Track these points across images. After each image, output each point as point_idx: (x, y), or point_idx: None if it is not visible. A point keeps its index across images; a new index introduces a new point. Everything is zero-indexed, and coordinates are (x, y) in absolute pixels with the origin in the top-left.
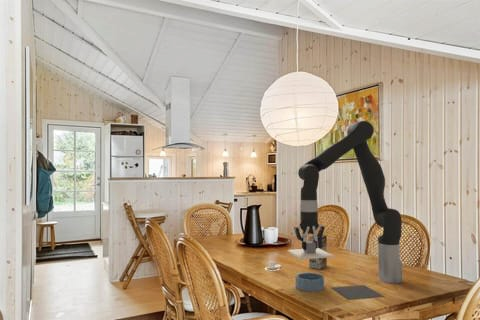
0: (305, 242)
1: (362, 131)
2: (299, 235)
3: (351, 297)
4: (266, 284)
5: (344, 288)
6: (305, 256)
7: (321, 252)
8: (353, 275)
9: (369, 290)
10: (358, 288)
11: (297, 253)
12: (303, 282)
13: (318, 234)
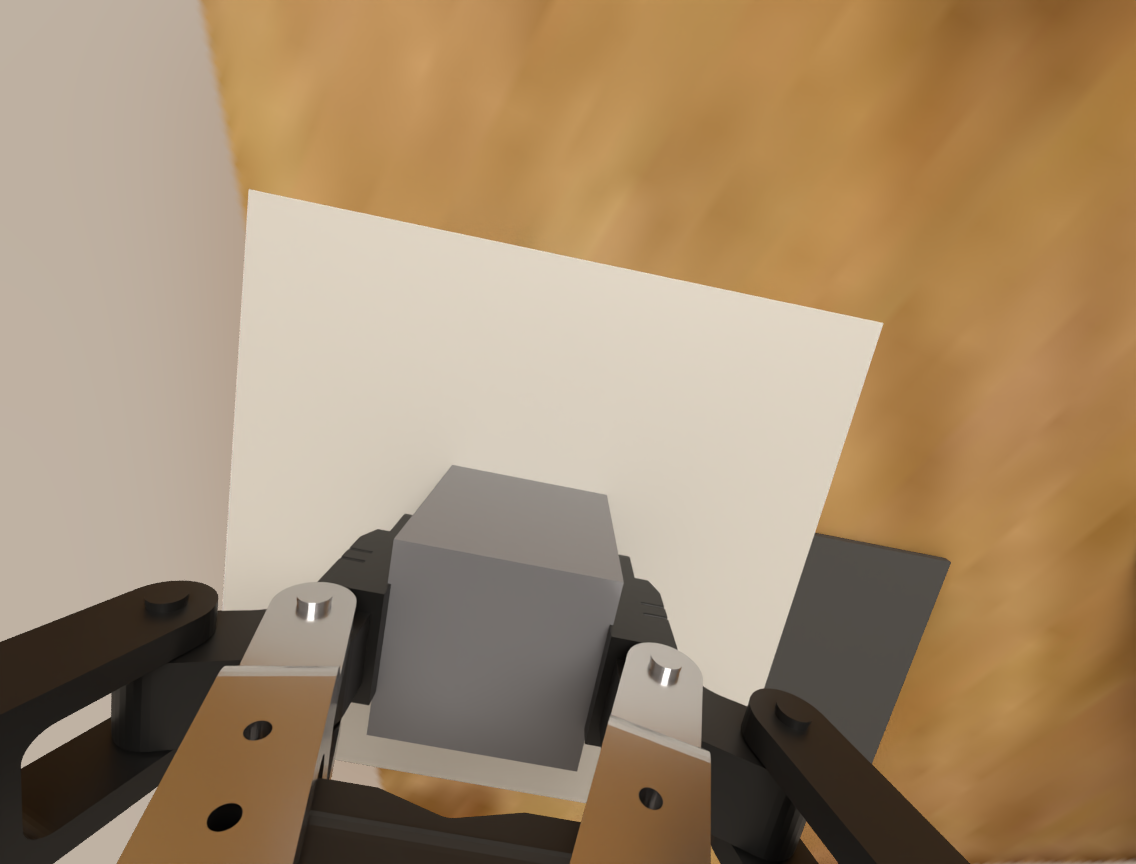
0: (355, 691)
1: None
2: (21, 845)
3: None
4: (242, 178)
5: None
6: None
7: (687, 625)
8: (1131, 277)
9: (877, 669)
10: (846, 608)
11: (292, 528)
12: None
13: (824, 827)
